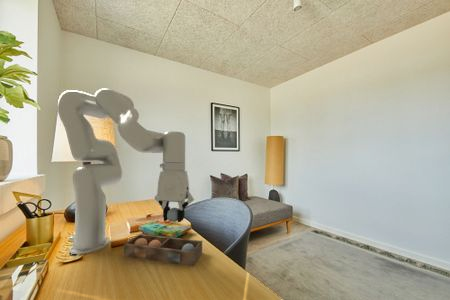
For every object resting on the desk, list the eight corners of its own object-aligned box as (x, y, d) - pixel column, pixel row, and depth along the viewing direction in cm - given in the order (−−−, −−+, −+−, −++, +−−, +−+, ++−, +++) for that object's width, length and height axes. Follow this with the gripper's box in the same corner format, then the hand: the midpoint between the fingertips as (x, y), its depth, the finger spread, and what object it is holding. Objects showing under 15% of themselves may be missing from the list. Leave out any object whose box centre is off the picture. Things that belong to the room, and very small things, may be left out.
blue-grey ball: (178, 261, 59) (179, 246, 59) (184, 253, 64) (184, 240, 64) (192, 262, 58) (192, 248, 58) (197, 255, 63) (197, 241, 63)
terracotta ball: (144, 256, 62) (144, 242, 62) (152, 249, 66) (152, 236, 66) (156, 258, 61) (156, 244, 61) (163, 251, 65) (164, 238, 66)
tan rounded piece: (130, 254, 63) (130, 241, 63) (139, 247, 68) (139, 235, 68) (142, 255, 62) (142, 242, 62) (150, 249, 67) (150, 236, 67)
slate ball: (164, 223, 61) (164, 209, 61) (170, 218, 65) (171, 205, 65) (176, 224, 60) (176, 210, 60) (182, 219, 64) (182, 206, 64)
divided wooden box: (123, 258, 61) (123, 244, 62) (139, 246, 70) (139, 234, 70) (193, 268, 56) (193, 253, 56) (202, 254, 64) (202, 240, 64)
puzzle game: (161, 216, 90) (191, 224, 80) (160, 226, 90) (191, 235, 80) (139, 224, 80) (171, 234, 70) (139, 234, 80) (170, 246, 70)
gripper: (145, 167, 61) (145, 222, 61) (192, 168, 57) (192, 226, 57) (158, 166, 68) (157, 215, 68) (200, 167, 65) (200, 218, 64)
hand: (173, 219), depth 62 cm, fingers closed on slate ball, 4 cm apart
